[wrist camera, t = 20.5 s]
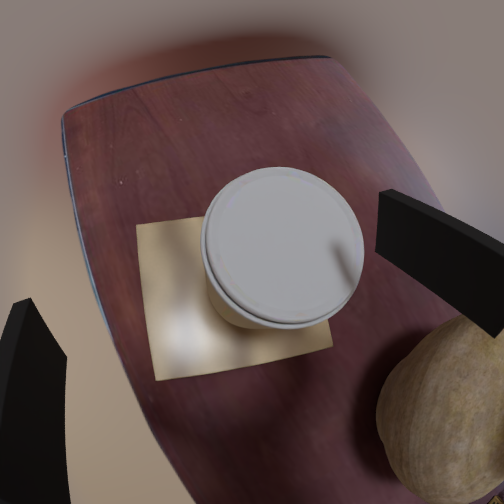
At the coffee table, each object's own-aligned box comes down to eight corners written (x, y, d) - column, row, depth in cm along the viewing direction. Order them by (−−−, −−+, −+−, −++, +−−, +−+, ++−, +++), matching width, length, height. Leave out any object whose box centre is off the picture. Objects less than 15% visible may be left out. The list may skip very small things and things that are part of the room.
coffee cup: (279, 224, 30) (327, 151, 18) (316, 316, 28) (392, 289, 16) (183, 251, 27) (179, 182, 16) (219, 353, 25) (238, 356, 14)
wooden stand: (164, 374, 31) (155, 381, 23) (147, 251, 35) (135, 224, 27) (304, 348, 34) (333, 346, 27) (279, 234, 38) (300, 206, 31)
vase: (415, 291, 39) (601, 208, 11) (478, 390, 37) (632, 373, 8) (306, 411, 32) (551, 487, 4) (395, 500, 29) (557, 563, 1)
